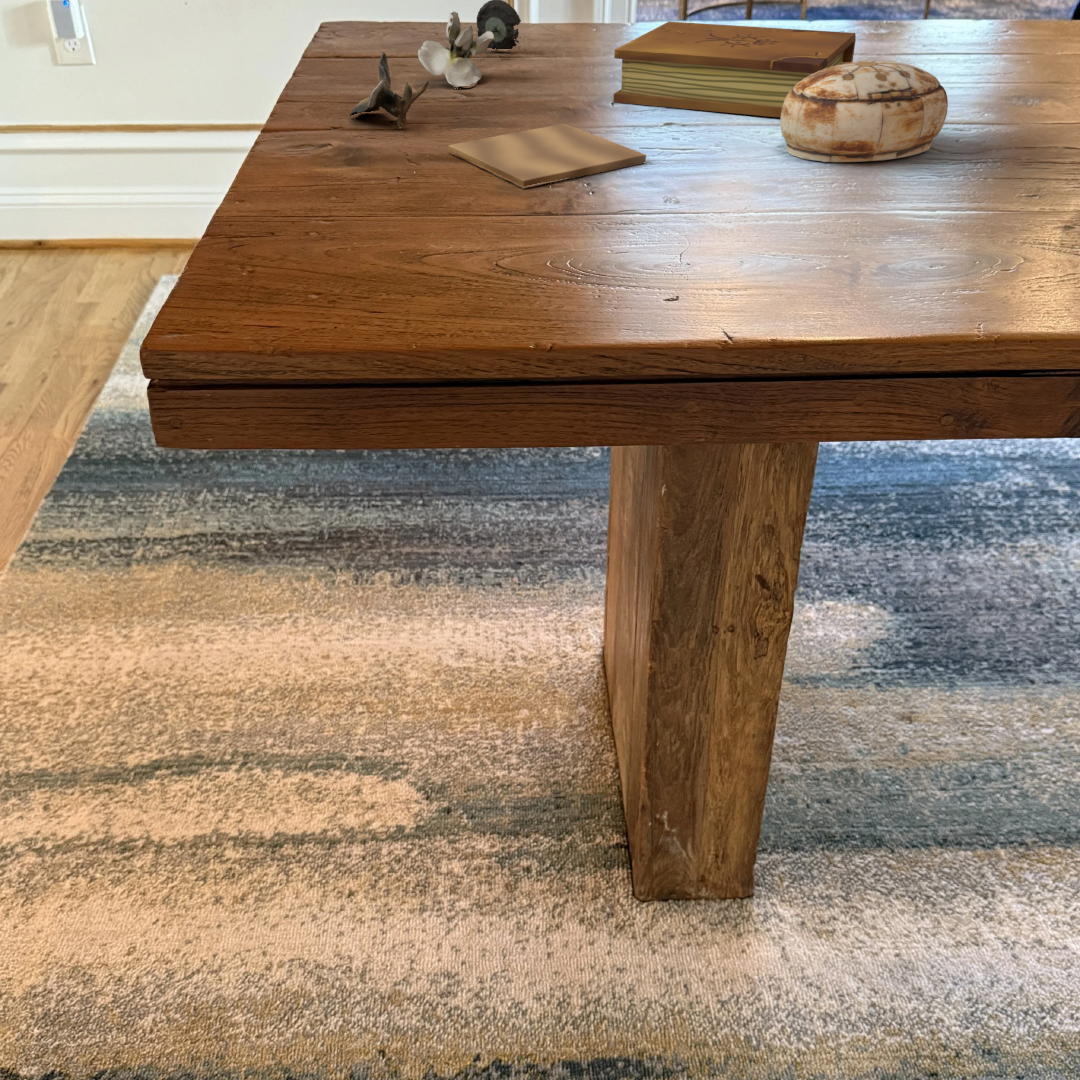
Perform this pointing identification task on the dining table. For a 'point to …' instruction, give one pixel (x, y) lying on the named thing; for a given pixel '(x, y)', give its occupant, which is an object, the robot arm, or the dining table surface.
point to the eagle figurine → (388, 96)
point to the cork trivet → (547, 154)
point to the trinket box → (863, 112)
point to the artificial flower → (471, 43)
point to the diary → (725, 66)
